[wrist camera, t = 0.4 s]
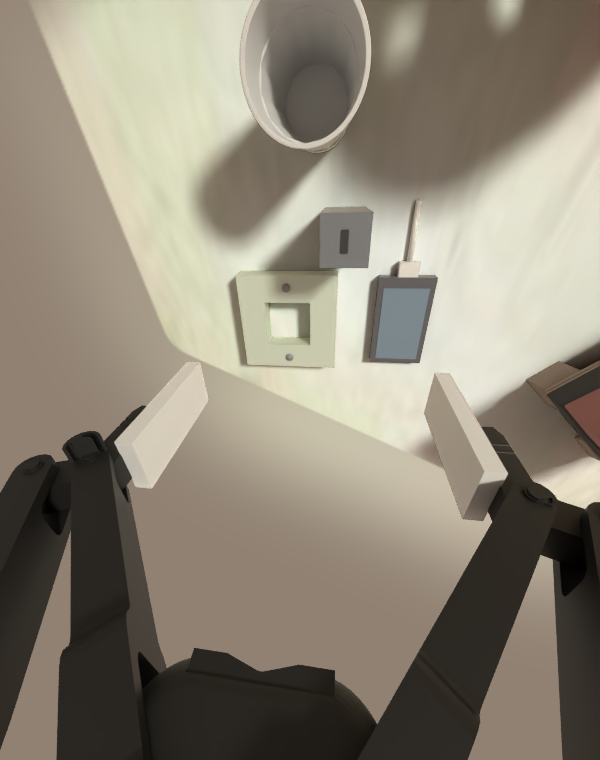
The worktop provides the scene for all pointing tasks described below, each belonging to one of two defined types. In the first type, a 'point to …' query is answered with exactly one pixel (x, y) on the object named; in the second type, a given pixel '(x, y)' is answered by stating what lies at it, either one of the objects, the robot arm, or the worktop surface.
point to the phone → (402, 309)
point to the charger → (345, 237)
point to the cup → (305, 68)
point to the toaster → (574, 399)
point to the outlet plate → (288, 288)
